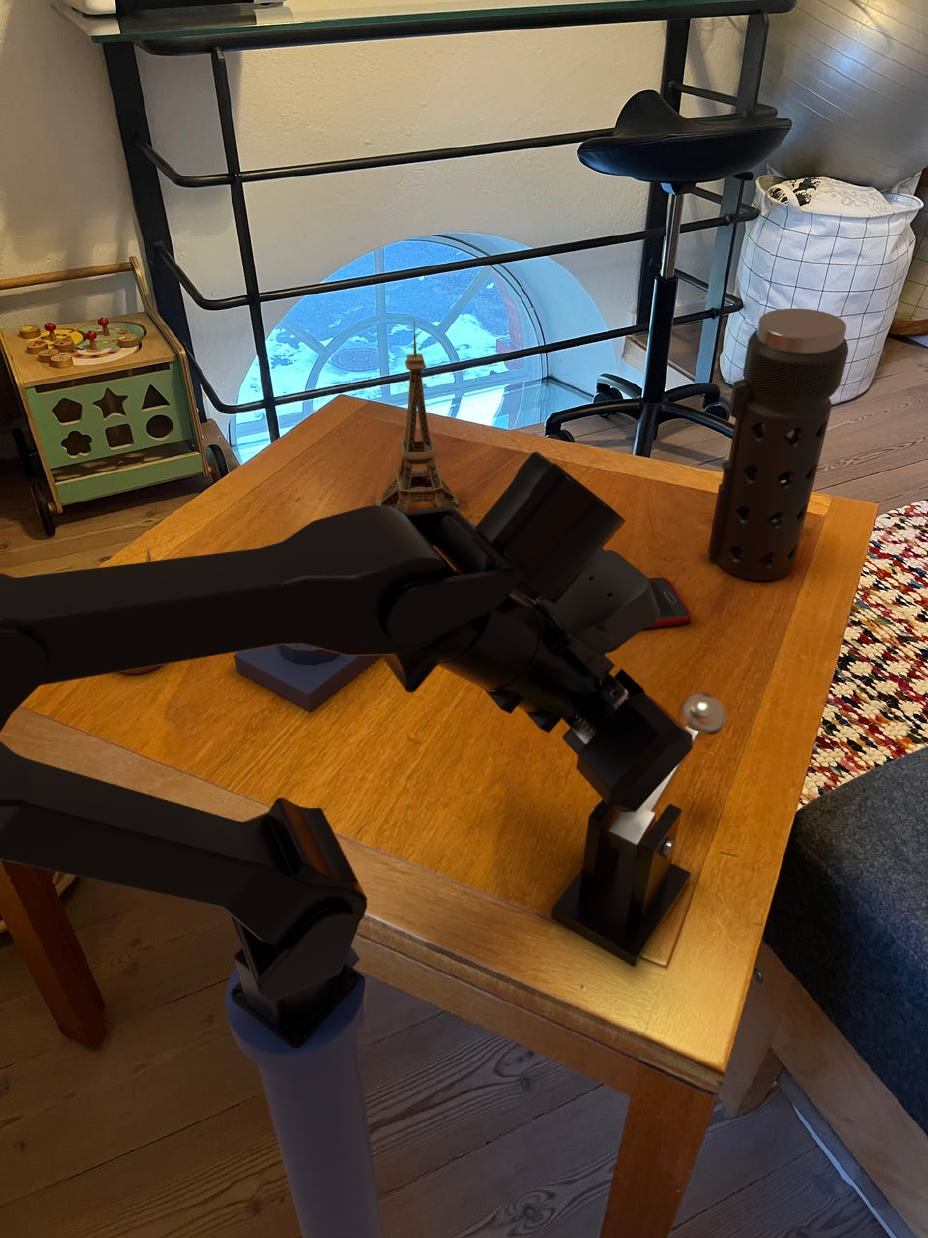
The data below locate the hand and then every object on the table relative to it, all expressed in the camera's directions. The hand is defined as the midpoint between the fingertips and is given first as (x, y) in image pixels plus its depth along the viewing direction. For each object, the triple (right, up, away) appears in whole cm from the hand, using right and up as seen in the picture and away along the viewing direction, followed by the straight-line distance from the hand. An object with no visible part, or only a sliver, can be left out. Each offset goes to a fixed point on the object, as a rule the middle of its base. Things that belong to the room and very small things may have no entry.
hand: (630, 720), depth 65 cm
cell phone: (+4, +8, +34) cm, 35 cm away
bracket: (0, -14, +4) cm, 15 cm away
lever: (+3, -5, +3) cm, 7 cm away
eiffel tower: (-17, +20, +49) cm, 56 cm away
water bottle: (+21, +14, +41) cm, 49 cm away
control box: (-27, +3, +27) cm, 38 cm away
